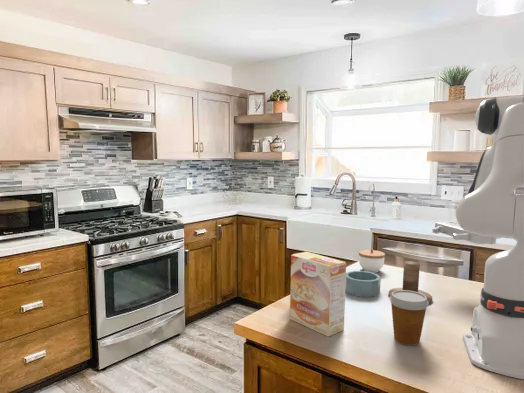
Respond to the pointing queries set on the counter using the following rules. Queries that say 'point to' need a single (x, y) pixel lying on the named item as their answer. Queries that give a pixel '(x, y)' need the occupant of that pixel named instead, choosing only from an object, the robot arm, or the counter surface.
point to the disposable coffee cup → (408, 315)
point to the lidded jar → (371, 260)
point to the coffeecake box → (318, 292)
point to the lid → (411, 279)
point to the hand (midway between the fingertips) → (443, 234)
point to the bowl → (362, 283)
